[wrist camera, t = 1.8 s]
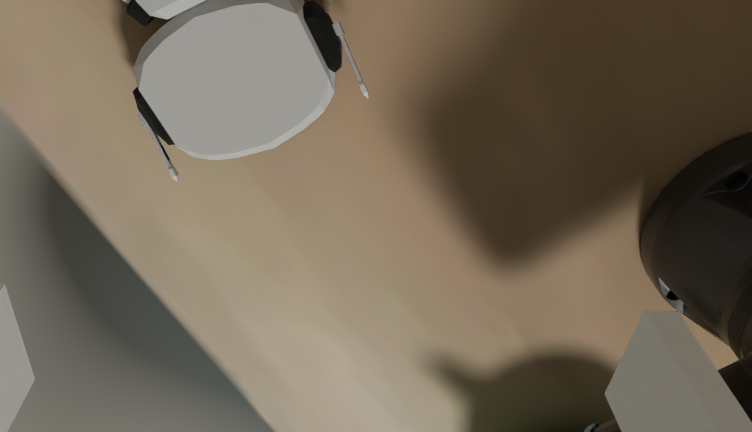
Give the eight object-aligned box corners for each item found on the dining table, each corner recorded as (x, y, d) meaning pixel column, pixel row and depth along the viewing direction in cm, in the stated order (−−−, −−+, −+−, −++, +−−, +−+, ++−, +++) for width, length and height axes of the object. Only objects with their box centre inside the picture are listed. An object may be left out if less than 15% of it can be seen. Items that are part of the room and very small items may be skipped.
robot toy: (36, -81, 31) (195, 161, 38) (-12, -73, 27) (176, 195, 34) (244, -198, 29) (373, 83, 36) (225, -208, 25) (375, 109, 32)
